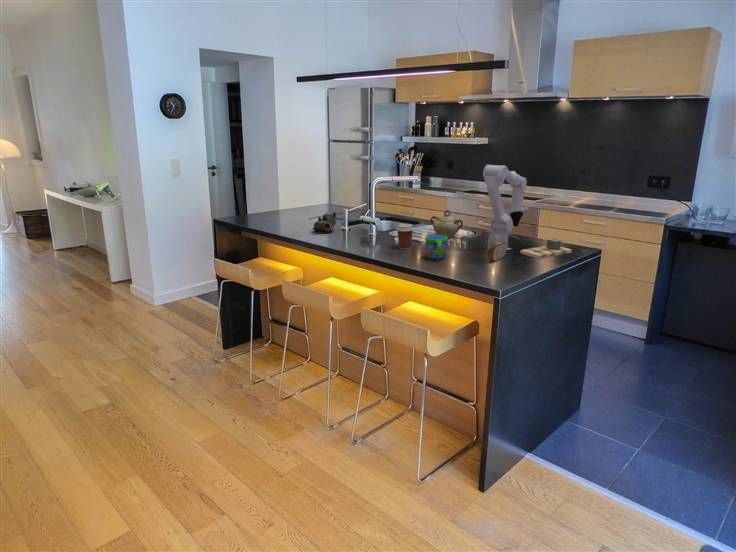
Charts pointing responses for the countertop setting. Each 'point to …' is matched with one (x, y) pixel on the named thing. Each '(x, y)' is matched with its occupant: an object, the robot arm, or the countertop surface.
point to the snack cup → (436, 246)
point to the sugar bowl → (446, 225)
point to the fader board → (544, 252)
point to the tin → (497, 251)
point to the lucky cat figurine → (326, 222)
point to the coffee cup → (405, 235)
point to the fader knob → (553, 244)
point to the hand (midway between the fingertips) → (515, 226)
